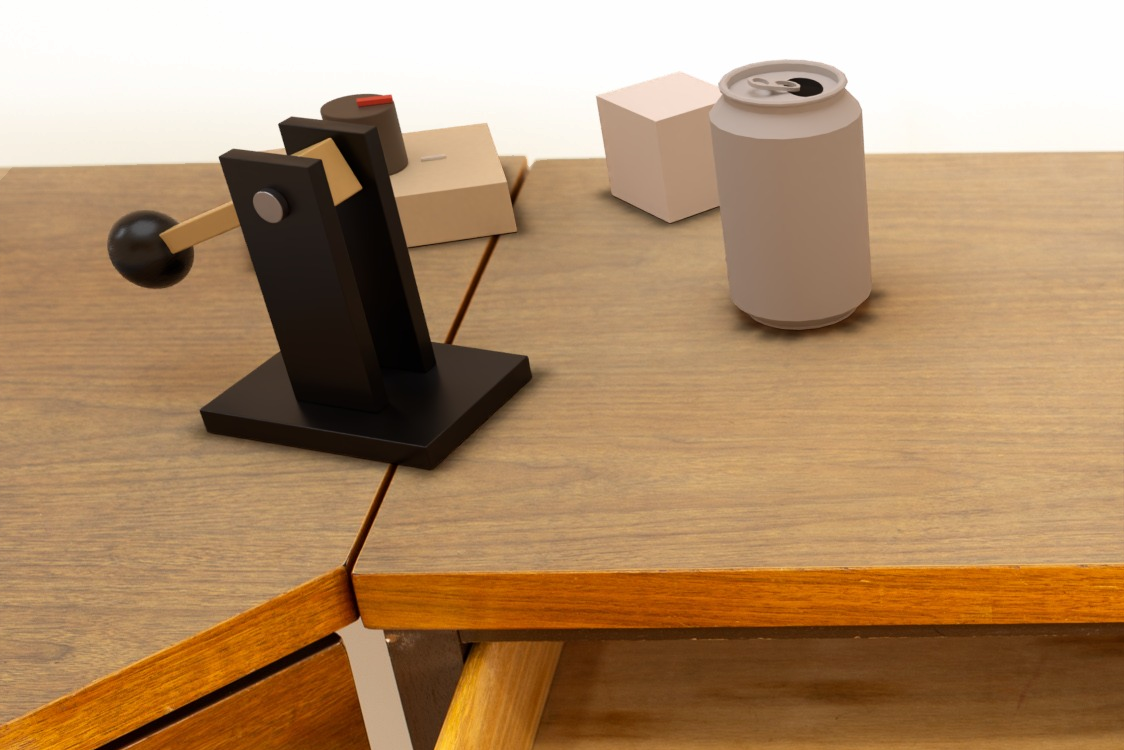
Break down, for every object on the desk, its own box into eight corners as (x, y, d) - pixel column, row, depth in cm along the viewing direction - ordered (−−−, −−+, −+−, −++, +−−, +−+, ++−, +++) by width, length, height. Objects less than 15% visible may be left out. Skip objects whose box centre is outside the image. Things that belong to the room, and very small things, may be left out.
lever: (125, 310, 74) (74, 240, 72) (177, 278, 77) (128, 209, 75) (332, 226, 68) (281, 147, 66) (380, 194, 70) (333, 118, 69)
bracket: (206, 432, 74) (108, 164, 66) (322, 345, 80) (246, 92, 72) (432, 470, 71) (359, 196, 63) (532, 377, 78) (478, 118, 70)
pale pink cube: (611, 195, 95) (595, 95, 92) (692, 168, 99) (679, 70, 95) (670, 223, 92) (655, 121, 88) (751, 194, 95) (740, 94, 92)
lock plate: (260, 268, 87) (242, 214, 85) (258, 201, 95) (242, 150, 93) (517, 231, 91) (506, 178, 89) (497, 170, 99) (486, 119, 97)
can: (891, 322, 82) (880, 90, 75) (751, 347, 80) (725, 111, 73) (848, 265, 88) (834, 43, 80) (716, 287, 85) (688, 61, 78)
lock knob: (337, 183, 89) (319, 116, 87) (334, 158, 92) (317, 93, 90) (411, 173, 90) (395, 107, 88) (405, 149, 93) (390, 84, 91)
